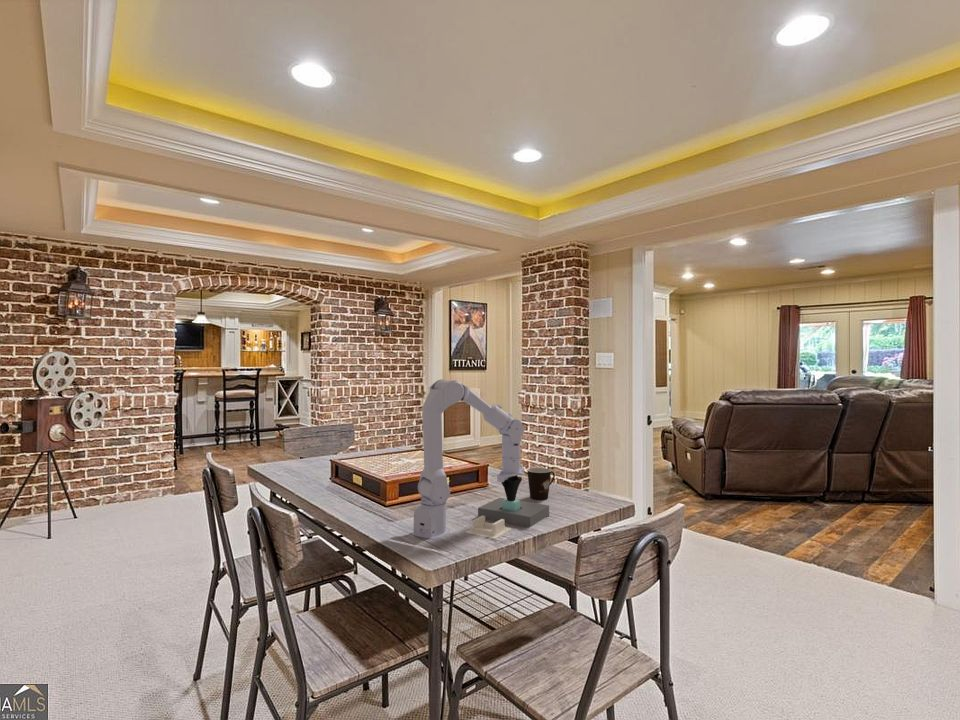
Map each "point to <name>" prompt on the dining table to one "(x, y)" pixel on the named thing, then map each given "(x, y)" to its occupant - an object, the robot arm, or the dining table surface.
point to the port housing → (515, 513)
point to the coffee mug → (539, 482)
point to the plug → (511, 505)
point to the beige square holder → (488, 528)
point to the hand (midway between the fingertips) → (511, 500)
